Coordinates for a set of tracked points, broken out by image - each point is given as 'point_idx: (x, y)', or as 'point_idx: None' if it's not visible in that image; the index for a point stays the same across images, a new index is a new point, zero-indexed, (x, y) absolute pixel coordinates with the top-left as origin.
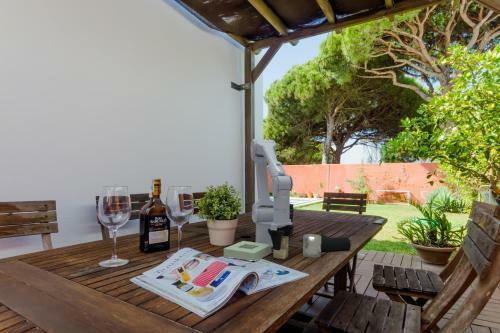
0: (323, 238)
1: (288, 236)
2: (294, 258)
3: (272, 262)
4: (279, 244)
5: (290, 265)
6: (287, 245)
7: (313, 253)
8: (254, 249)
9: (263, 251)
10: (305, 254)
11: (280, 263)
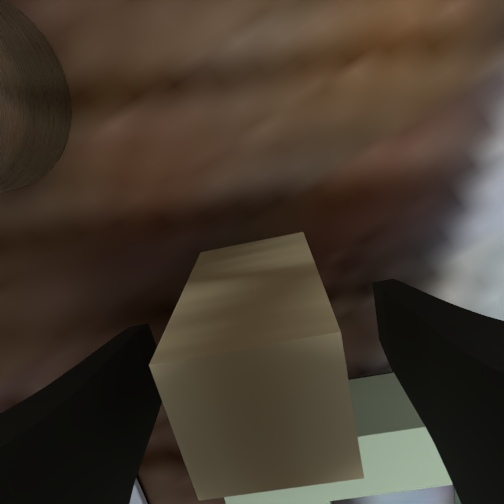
0: None
1: (89, 390)
2: (218, 169)
3: (463, 246)
4: (438, 304)
5: (458, 64)
6: (205, 294)
7: (10, 19)
8: None
9: (389, 410)
10: (61, 126)
11: (451, 177)
